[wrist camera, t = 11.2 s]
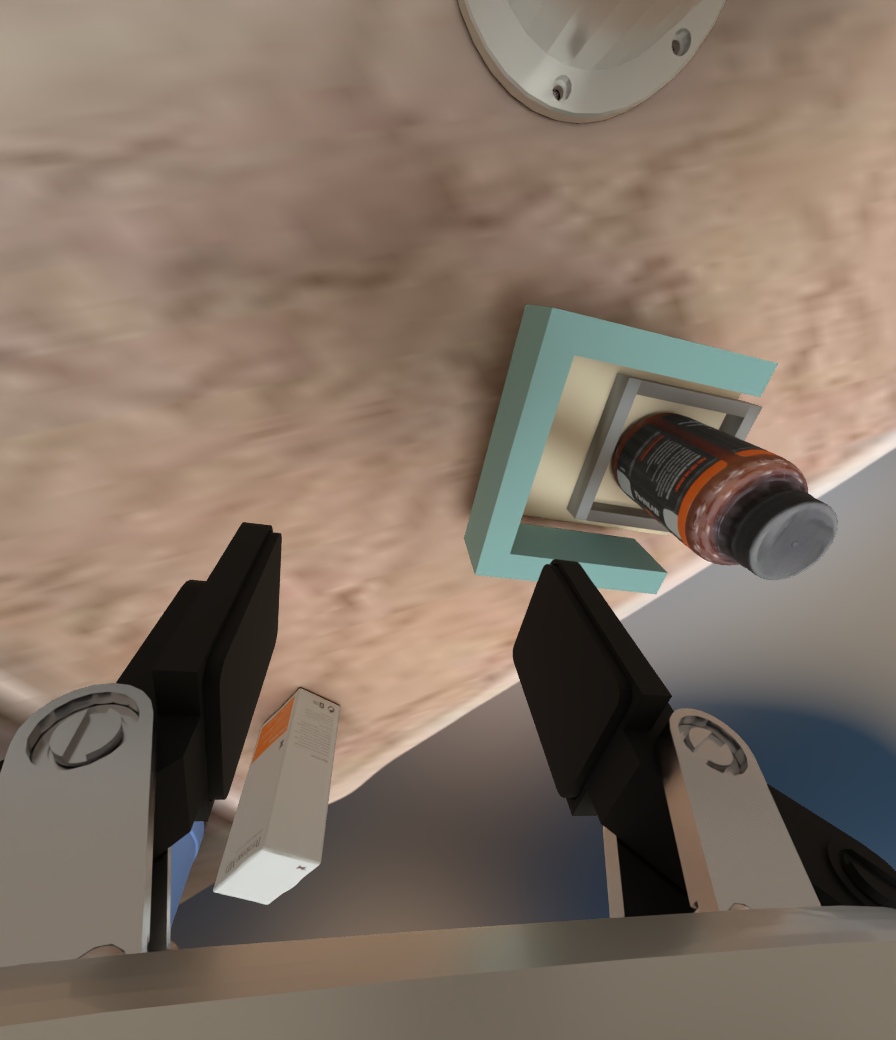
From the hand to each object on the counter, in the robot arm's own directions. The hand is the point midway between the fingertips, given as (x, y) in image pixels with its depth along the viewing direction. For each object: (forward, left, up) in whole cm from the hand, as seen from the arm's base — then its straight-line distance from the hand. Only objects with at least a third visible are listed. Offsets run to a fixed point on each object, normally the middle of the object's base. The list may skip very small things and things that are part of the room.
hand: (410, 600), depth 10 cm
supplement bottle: (0, +17, -18) cm, 24 cm away
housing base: (0, +15, -19) cm, 24 cm away
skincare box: (+28, -4, -19) cm, 34 cm away
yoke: (0, +11, -16) cm, 19 cm away
